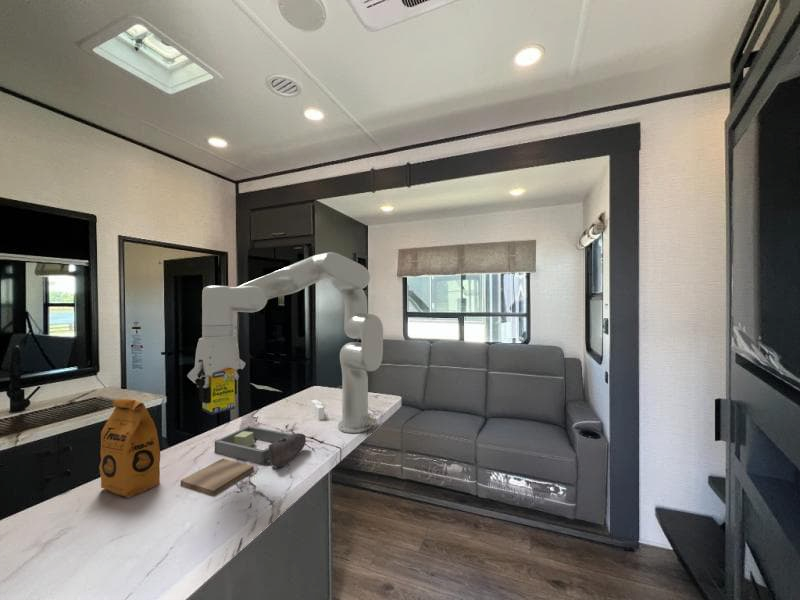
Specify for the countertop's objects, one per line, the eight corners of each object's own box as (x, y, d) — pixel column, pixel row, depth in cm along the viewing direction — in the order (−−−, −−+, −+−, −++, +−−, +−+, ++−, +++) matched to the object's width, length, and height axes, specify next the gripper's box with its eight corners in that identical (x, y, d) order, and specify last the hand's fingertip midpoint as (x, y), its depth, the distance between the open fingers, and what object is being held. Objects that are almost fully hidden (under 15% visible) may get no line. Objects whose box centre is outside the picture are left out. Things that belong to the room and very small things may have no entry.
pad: (253, 470, 86) (253, 466, 86) (213, 495, 75) (213, 490, 75) (222, 462, 90) (222, 458, 90) (180, 485, 79) (180, 480, 79)
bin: (294, 445, 101) (294, 434, 101) (263, 464, 89) (263, 452, 89) (248, 435, 109) (248, 425, 109) (214, 452, 97) (214, 441, 97)
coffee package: (119, 505, 71) (119, 409, 72) (94, 491, 77) (94, 402, 77) (167, 482, 80) (167, 397, 81) (141, 471, 86) (141, 392, 86)
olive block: (253, 444, 102) (253, 432, 102) (244, 449, 98) (244, 437, 98) (242, 443, 103) (242, 431, 103) (234, 448, 99) (234, 436, 99)
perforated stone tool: (299, 447, 100) (299, 425, 100) (312, 450, 98) (312, 428, 98) (261, 470, 86) (261, 445, 86) (276, 474, 84) (276, 448, 84)
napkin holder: (308, 410, 135) (308, 397, 135) (334, 410, 135) (334, 397, 135) (296, 424, 120) (296, 409, 120) (325, 424, 120) (325, 409, 120)
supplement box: (211, 415, 79) (211, 372, 79) (201, 410, 82) (201, 369, 82) (235, 408, 83) (235, 368, 83) (225, 404, 87) (225, 365, 87)
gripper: (236, 328, 92) (236, 388, 92) (175, 334, 76) (175, 406, 76) (255, 329, 90) (255, 390, 89) (196, 335, 73) (196, 410, 73)
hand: (218, 397), depth 83 cm, fingers closed on supplement box, 7 cm apart
